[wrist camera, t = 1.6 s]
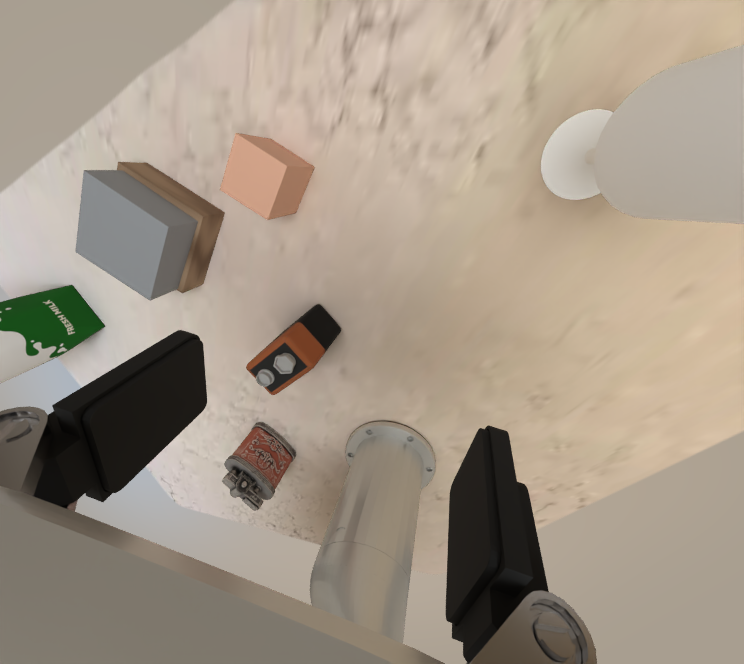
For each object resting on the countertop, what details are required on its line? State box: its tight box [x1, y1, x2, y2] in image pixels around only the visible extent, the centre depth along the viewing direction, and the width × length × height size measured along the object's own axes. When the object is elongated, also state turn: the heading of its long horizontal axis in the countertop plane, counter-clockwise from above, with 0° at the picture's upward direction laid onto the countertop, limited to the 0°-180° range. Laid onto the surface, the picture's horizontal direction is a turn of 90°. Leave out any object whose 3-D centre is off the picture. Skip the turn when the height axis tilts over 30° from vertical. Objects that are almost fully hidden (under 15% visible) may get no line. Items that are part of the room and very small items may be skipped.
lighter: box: [222, 422, 296, 511], centre depth 47 cm, size 8×3×10 cm, turn 44°
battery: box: [246, 305, 341, 395], centre depth 37 cm, size 4×7×10 cm, turn 130°
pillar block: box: [220, 133, 315, 220], centre depth 31 cm, size 5×5×6 cm
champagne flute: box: [541, 45, 744, 224], centre depth 17 cm, size 7×7×24 cm
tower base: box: [117, 162, 225, 293], centre depth 38 cm, size 10×10×4 cm
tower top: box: [76, 170, 198, 300], centre depth 35 cm, size 9×9×4 cm
